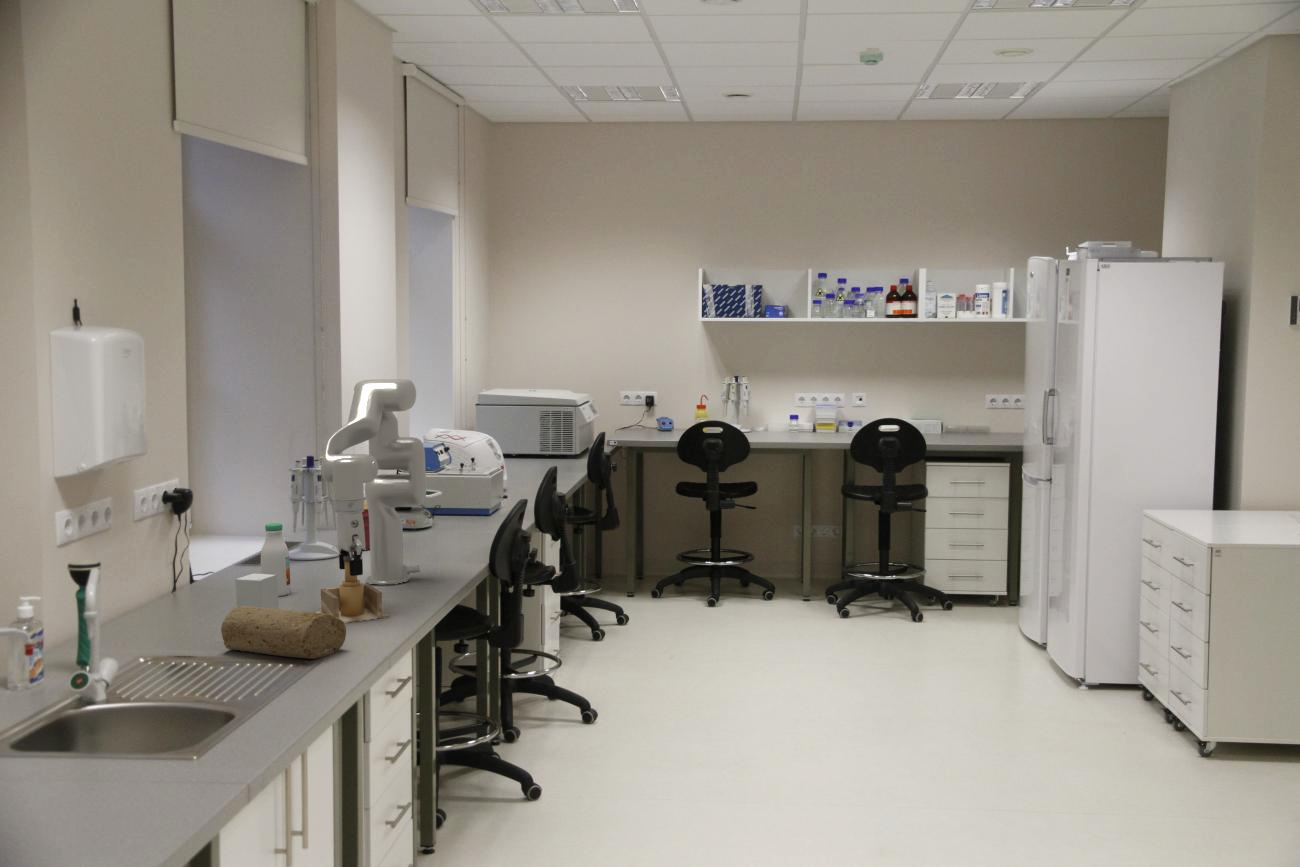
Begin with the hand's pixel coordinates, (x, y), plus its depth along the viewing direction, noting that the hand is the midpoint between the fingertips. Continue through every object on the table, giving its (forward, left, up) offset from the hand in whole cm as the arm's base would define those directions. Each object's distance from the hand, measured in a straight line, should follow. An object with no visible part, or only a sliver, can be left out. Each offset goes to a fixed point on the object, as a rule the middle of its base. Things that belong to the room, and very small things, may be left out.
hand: (351, 571), depth 305 cm
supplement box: (+23, -2, -12) cm, 26 cm away
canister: (-29, -96, -12) cm, 101 cm away
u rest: (0, 0, -12) cm, 12 cm away
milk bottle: (+11, -38, -12) cm, 41 cm away
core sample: (+23, +25, -12) cm, 36 cm away
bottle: (0, 0, -11) cm, 11 cm away
